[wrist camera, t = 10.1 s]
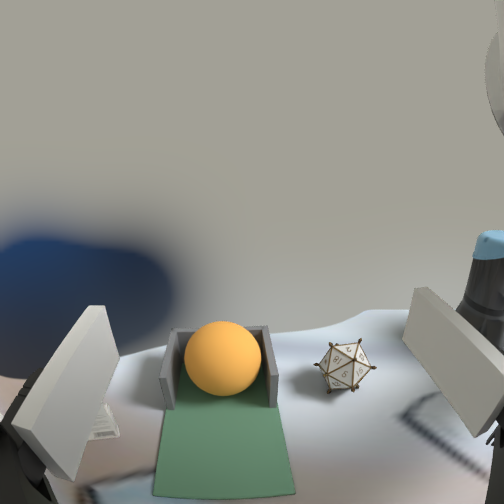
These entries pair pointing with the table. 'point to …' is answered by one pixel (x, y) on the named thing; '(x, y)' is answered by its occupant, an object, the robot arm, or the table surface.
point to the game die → (344, 366)
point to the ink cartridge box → (104, 425)
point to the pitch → (221, 432)
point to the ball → (222, 358)
